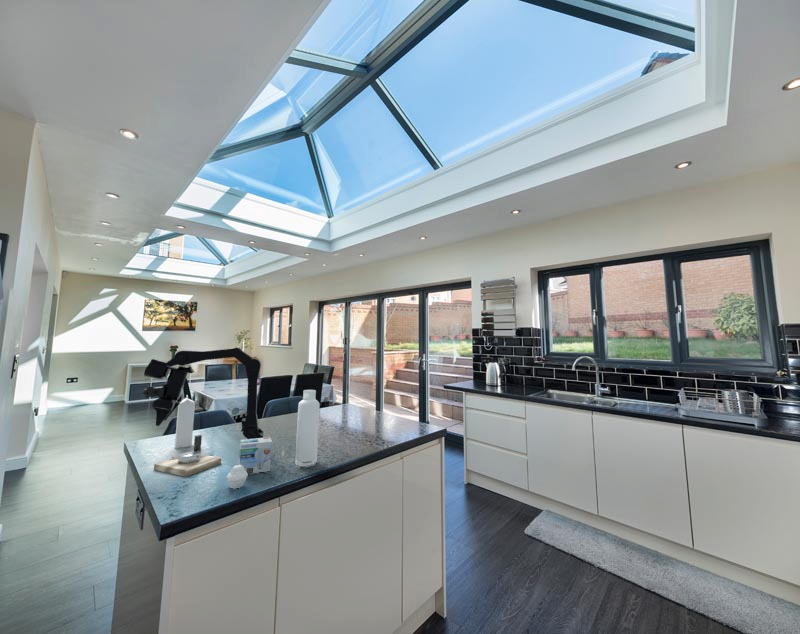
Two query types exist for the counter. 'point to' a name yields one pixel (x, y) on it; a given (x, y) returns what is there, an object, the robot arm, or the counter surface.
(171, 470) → the dial base plate
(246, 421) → the robot arm
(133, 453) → the counter surface
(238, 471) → the muffin
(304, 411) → the bottle
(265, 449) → the light bulb box
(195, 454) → the capstan dial
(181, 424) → the milk
